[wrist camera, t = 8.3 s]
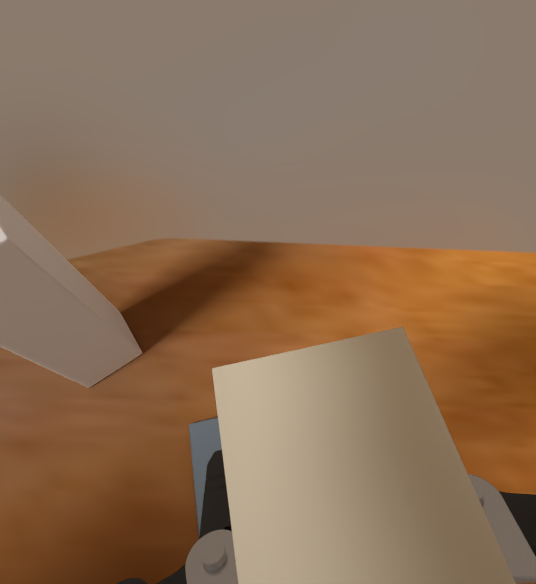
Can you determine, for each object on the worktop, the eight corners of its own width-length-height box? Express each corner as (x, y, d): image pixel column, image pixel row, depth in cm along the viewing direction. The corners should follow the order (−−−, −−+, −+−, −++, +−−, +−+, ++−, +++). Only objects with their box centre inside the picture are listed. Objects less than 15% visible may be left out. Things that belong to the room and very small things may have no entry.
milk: (69, 343, 36) (-188, 183, 17) (121, 311, 38) (-63, 131, 19) (89, 390, 34) (-190, 261, 14) (144, 354, 35) (-43, 193, 16)
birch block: (288, 605, 13) (273, 868, 4) (258, 434, 16) (211, 368, 7) (393, 579, 13) (600, 776, 4) (343, 414, 16) (402, 326, 7)
